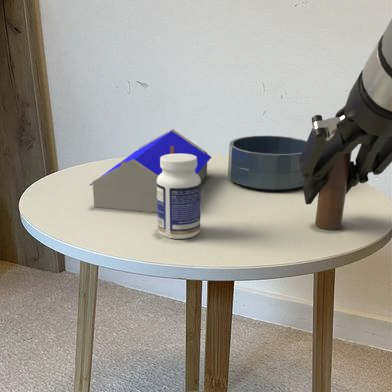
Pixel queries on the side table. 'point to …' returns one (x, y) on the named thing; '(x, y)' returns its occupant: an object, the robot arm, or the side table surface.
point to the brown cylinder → (333, 194)
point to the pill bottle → (178, 196)
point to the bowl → (266, 162)
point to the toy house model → (143, 174)
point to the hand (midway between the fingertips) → (321, 194)
